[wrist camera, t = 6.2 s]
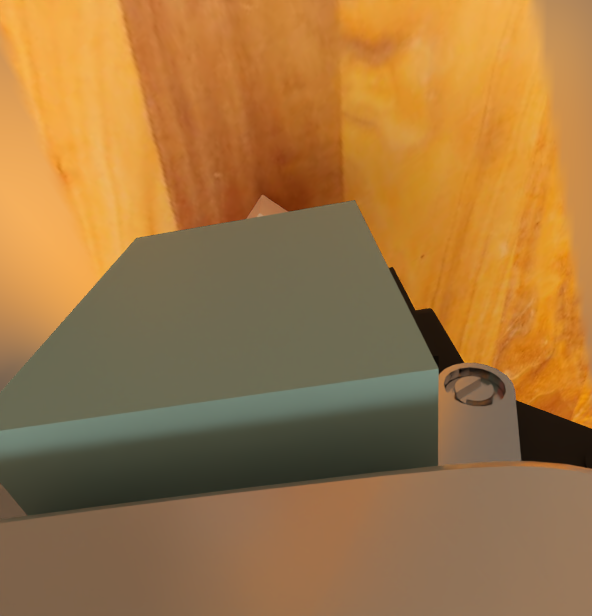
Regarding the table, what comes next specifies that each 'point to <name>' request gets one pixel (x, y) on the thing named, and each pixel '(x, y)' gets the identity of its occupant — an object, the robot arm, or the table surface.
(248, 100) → the table surface
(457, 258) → the table surface
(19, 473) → the teal block
